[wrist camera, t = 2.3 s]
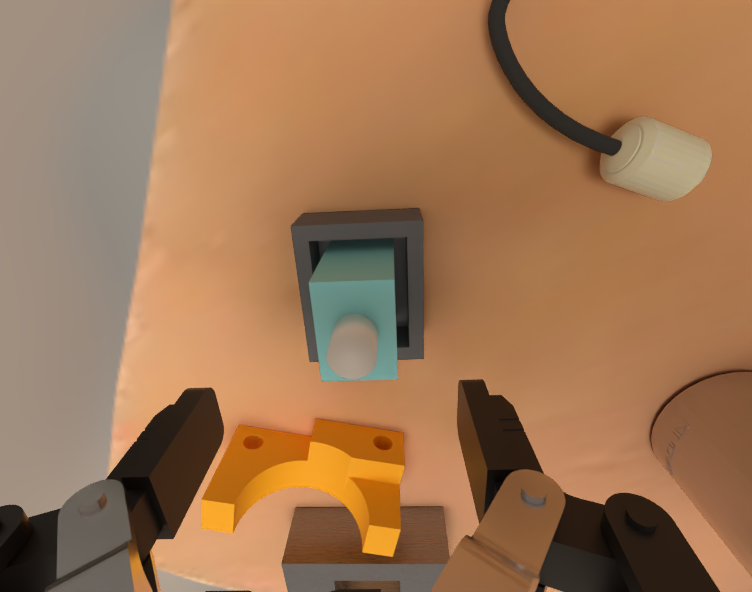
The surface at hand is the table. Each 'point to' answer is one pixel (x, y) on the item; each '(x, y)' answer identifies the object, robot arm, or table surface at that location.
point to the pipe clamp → (314, 476)
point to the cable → (626, 146)
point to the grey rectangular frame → (408, 264)
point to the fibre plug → (356, 310)
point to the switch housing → (363, 570)
